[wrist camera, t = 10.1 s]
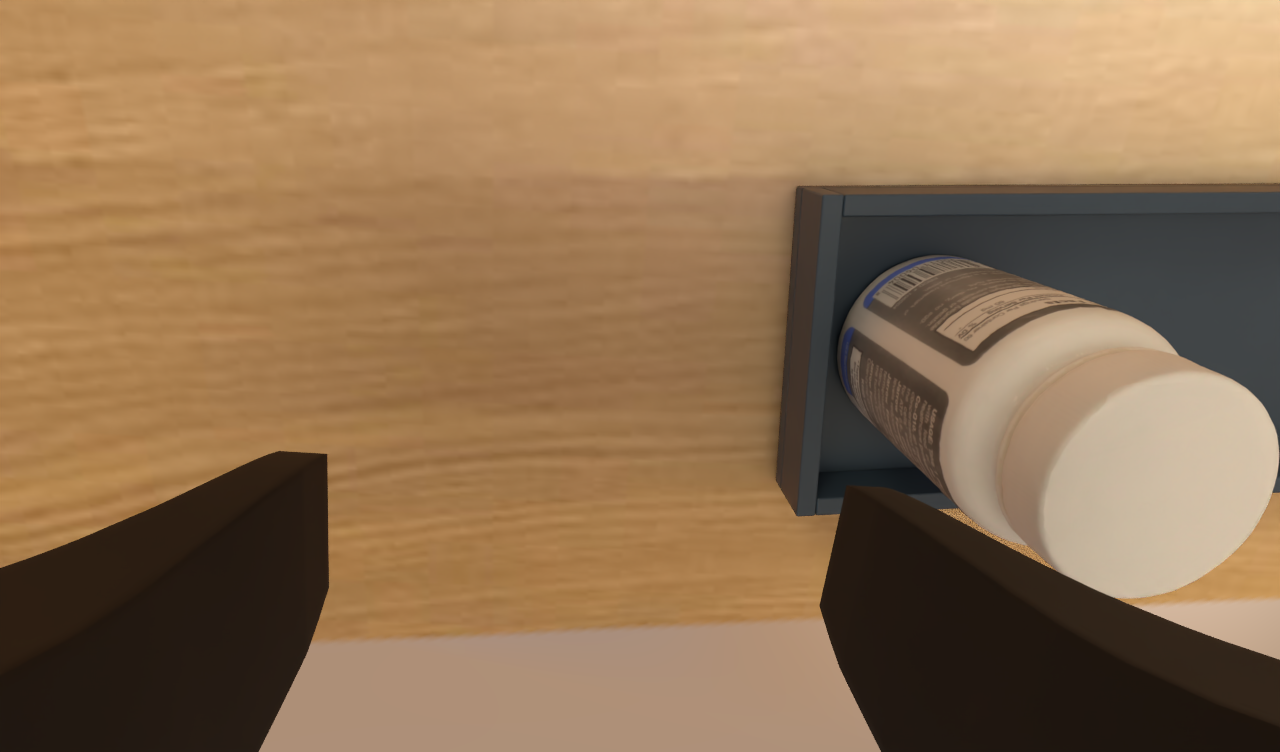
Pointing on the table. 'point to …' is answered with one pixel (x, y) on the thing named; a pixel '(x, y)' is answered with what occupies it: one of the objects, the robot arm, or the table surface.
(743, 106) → the table surface
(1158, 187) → the tray
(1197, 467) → the pill bottle
